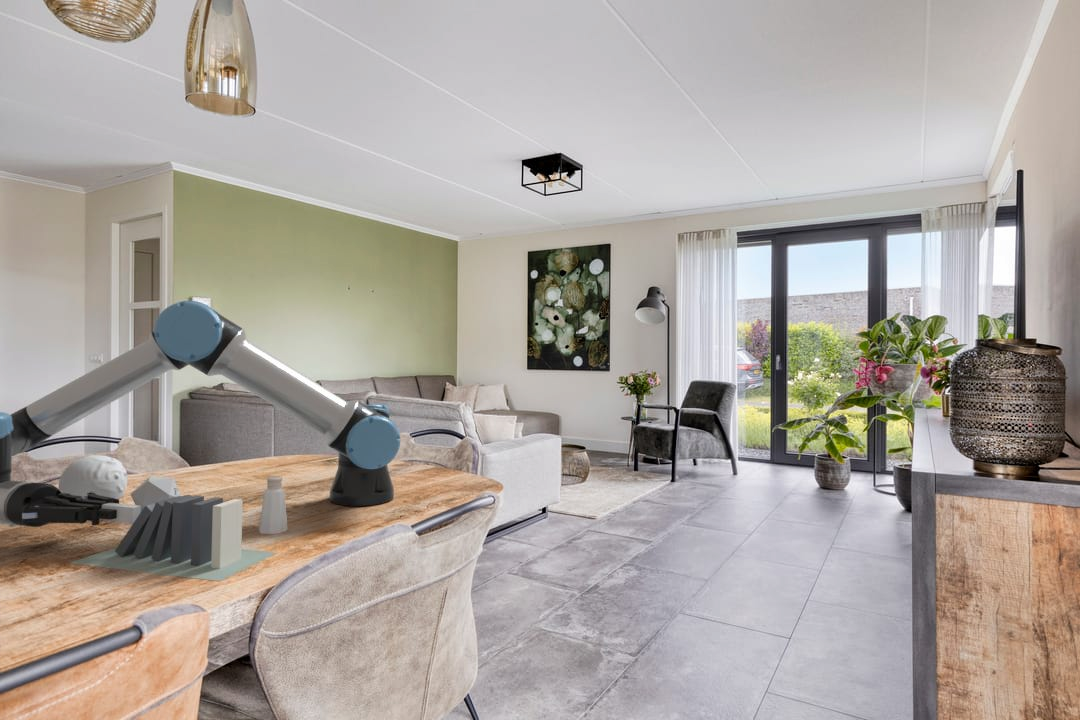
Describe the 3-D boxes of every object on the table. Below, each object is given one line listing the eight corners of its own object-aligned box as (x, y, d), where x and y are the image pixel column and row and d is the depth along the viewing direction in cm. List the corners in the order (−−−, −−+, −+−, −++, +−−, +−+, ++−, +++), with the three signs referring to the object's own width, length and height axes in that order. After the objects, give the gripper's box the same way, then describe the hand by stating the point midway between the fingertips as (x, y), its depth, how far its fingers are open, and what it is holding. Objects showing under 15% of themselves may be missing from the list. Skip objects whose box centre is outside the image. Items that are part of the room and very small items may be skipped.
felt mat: (69, 566, 99) (69, 562, 99) (142, 541, 112) (142, 538, 112) (219, 585, 93) (219, 581, 93) (277, 556, 107) (277, 552, 107)
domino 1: (114, 550, 102) (145, 505, 101) (139, 542, 107) (169, 498, 106) (121, 557, 102) (152, 511, 101) (146, 548, 107) (175, 504, 106)
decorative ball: (104, 518, 126) (106, 461, 126) (43, 518, 125) (44, 460, 125) (138, 504, 138) (139, 451, 138) (82, 503, 137) (83, 450, 137)
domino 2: (133, 554, 101) (156, 502, 100) (157, 545, 106) (179, 495, 105) (140, 559, 101) (163, 507, 100) (164, 550, 106) (186, 500, 105)
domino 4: (170, 562, 100) (173, 502, 100) (193, 553, 105) (196, 495, 105) (179, 563, 100) (181, 503, 99) (201, 554, 104) (204, 496, 104)
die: (143, 525, 125) (177, 485, 127) (113, 501, 126) (147, 462, 129) (165, 528, 132) (197, 491, 135) (136, 506, 134) (169, 469, 137)
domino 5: (190, 565, 99) (192, 504, 99) (213, 555, 104) (214, 497, 104) (199, 566, 99) (200, 504, 99) (221, 556, 104) (222, 497, 104)
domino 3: (151, 558, 101) (164, 501, 100) (175, 549, 106) (188, 494, 105) (159, 561, 100) (172, 504, 100) (182, 552, 105) (195, 497, 105)
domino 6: (211, 567, 98) (212, 505, 98) (232, 557, 103) (234, 499, 103) (219, 568, 98) (221, 506, 98) (241, 558, 103) (242, 499, 103)
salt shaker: (290, 528, 123) (292, 474, 123) (284, 536, 118) (285, 479, 117) (262, 529, 122) (263, 474, 122) (254, 537, 117) (256, 480, 117)
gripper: (61, 515, 115) (167, 526, 110) (-15, 534, 102) (101, 548, 97) (62, 475, 115) (168, 484, 110) (-14, 490, 102) (102, 501, 97)
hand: (136, 514), depth 104 cm, fingers closed
